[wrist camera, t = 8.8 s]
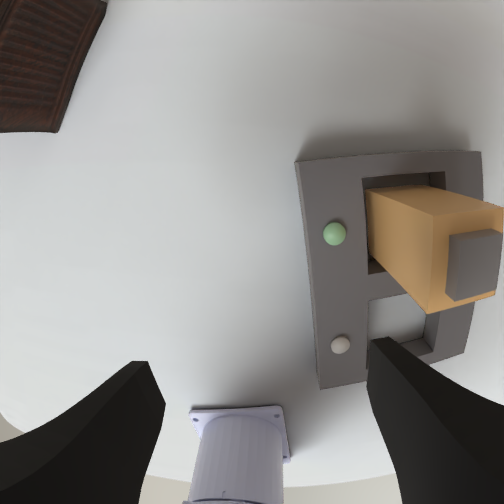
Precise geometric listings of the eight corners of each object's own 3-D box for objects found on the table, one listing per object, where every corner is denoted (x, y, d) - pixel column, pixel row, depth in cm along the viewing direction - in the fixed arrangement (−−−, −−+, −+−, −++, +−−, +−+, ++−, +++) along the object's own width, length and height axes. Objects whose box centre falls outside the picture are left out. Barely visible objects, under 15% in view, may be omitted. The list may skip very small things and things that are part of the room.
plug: (422, 244, 18) (504, 302, 9) (368, 252, 18) (435, 324, 9) (420, 184, 16) (515, 211, 8) (364, 189, 17) (444, 221, 8)
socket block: (452, 339, 20) (465, 354, 18) (316, 371, 21) (320, 392, 19) (463, 150, 15) (483, 151, 13) (294, 162, 16) (298, 162, 14)
